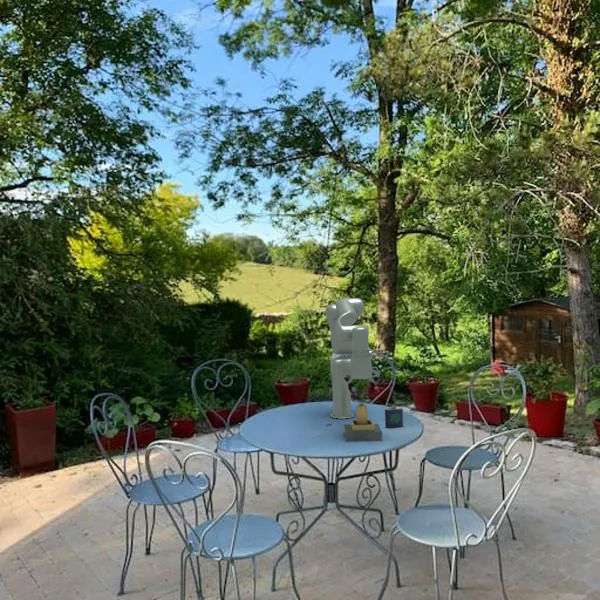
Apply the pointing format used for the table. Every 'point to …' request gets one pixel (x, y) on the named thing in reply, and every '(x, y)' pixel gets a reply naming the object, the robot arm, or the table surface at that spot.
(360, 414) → the cylinder
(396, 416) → the wallet
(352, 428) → the grey square socket base
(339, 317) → the robot arm
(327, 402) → the table surface
